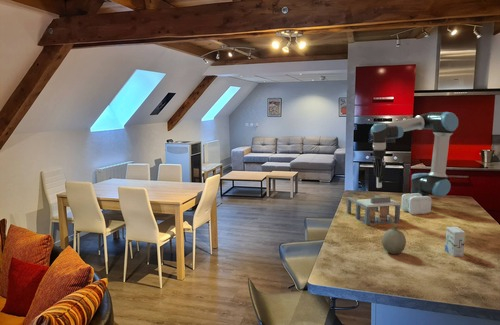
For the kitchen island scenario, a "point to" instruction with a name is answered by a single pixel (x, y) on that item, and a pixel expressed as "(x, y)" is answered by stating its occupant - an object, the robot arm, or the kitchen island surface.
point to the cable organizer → (416, 203)
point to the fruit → (394, 240)
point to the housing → (367, 213)
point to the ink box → (455, 241)
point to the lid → (378, 202)
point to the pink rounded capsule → (383, 213)
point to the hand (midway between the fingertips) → (379, 187)
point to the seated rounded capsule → (372, 214)
